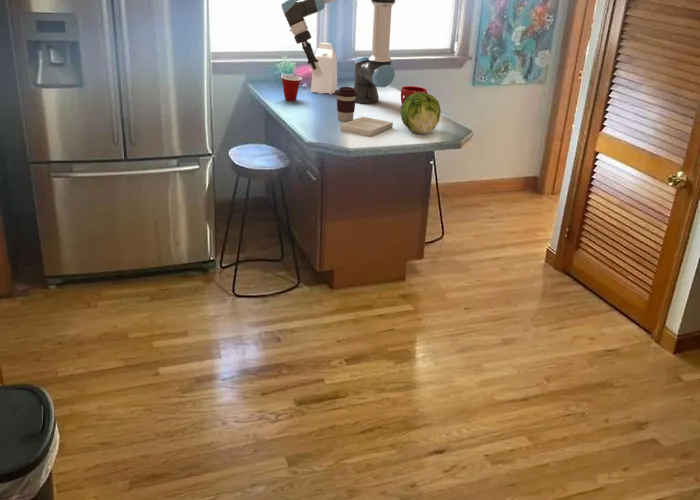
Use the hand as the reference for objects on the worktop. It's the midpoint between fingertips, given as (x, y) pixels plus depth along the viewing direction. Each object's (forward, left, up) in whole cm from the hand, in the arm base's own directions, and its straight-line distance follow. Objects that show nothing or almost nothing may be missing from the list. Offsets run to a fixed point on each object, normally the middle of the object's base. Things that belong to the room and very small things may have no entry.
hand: (319, 76), depth 342 cm
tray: (+5, +30, -19) cm, 36 cm away
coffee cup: (-4, +13, -19) cm, 24 cm away
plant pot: (-41, +30, -19) cm, 54 cm away
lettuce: (-8, +51, -19) cm, 55 cm away
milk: (-51, -30, -19) cm, 62 cm away
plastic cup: (-21, -31, -19) cm, 42 cm away
